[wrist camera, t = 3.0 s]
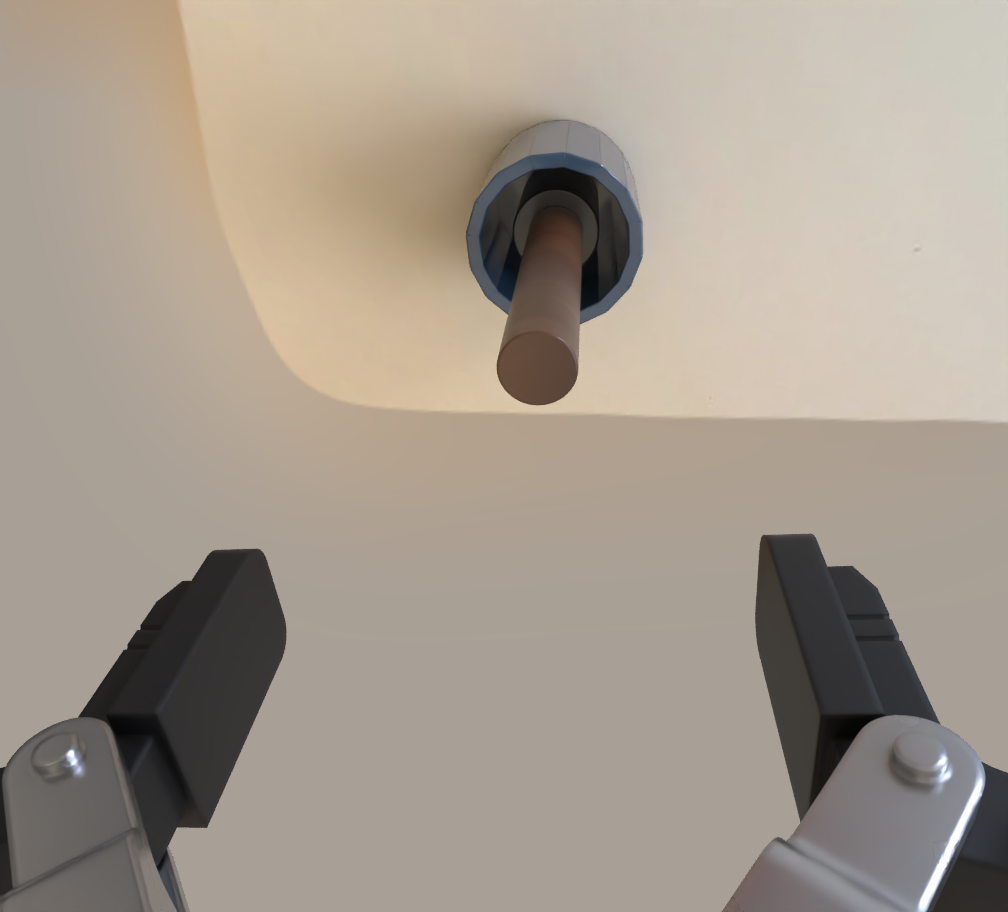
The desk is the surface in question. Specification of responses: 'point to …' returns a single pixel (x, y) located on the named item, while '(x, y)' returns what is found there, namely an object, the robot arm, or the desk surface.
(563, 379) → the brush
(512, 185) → the brush cup
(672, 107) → the desk surface
